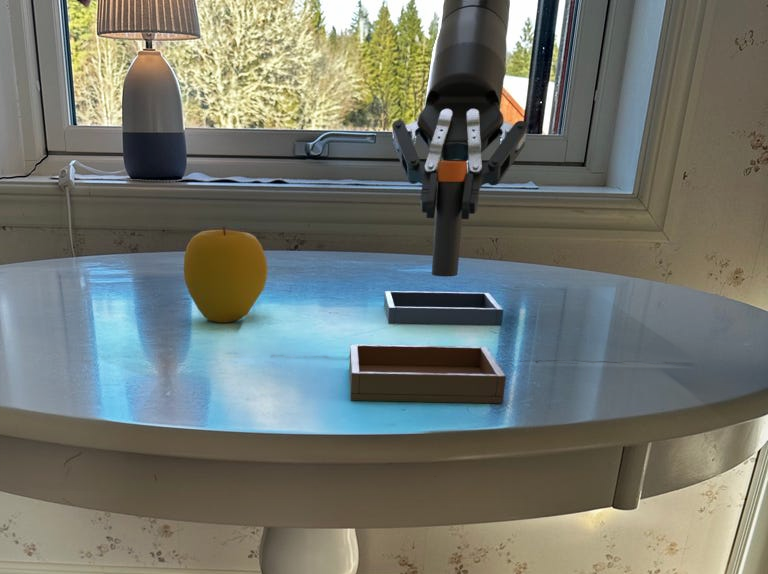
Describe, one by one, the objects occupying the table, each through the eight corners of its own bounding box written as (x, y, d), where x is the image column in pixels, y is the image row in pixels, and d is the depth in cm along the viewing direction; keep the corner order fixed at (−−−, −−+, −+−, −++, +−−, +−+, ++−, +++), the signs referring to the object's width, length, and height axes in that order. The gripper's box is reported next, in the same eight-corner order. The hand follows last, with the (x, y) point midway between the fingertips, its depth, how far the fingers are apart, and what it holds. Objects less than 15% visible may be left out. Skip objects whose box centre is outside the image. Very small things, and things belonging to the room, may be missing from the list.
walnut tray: (484, 371, 79) (487, 346, 78) (503, 403, 70) (506, 376, 69) (349, 368, 79) (350, 344, 78) (350, 400, 70) (351, 373, 70)
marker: (456, 272, 98) (465, 161, 93) (459, 276, 96) (469, 162, 91) (429, 272, 98) (437, 160, 93) (431, 276, 96) (439, 162, 91)
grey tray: (487, 312, 103) (489, 292, 102) (501, 330, 94) (503, 309, 93) (383, 310, 104) (384, 291, 103) (387, 328, 95) (389, 307, 94)
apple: (285, 321, 98) (285, 227, 93) (217, 331, 93) (214, 233, 89) (235, 309, 103) (234, 220, 99) (169, 318, 99) (164, 225, 94)
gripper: (396, 40, 95) (373, 183, 90) (541, 38, 92) (524, 185, 87) (400, 102, 102) (378, 238, 97) (534, 102, 99) (518, 241, 95)
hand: (447, 212), depth 92 cm, fingers closed on marker, 2 cm apart
